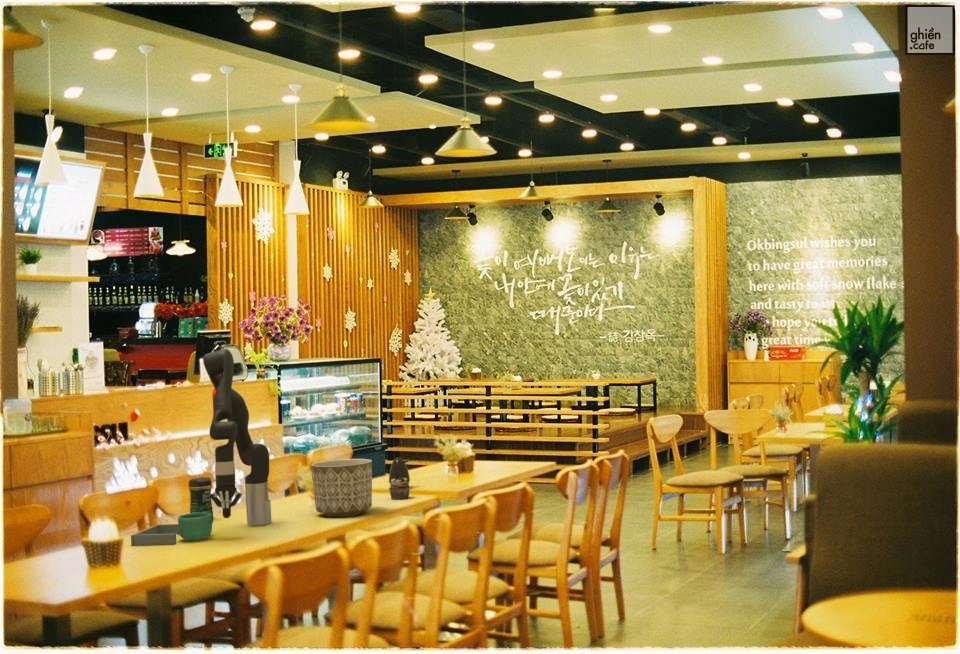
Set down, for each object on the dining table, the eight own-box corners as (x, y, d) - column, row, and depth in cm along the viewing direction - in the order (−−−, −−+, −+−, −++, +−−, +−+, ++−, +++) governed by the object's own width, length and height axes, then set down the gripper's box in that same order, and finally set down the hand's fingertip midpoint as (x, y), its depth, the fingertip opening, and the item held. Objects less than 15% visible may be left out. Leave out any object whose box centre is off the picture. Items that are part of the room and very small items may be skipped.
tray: (198, 533, 460) (198, 523, 460) (175, 544, 437) (174, 534, 437) (156, 534, 463) (156, 524, 463) (131, 545, 439) (130, 535, 439)
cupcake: (414, 497, 528) (413, 475, 528) (402, 500, 520) (400, 478, 520) (397, 496, 533) (396, 475, 533) (385, 500, 525) (384, 478, 525)
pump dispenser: (409, 489, 554) (408, 458, 554) (388, 490, 554) (386, 459, 554) (411, 487, 564) (409, 456, 564) (390, 488, 565) (388, 457, 565)
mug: (196, 543, 437) (194, 518, 437) (172, 541, 444) (170, 517, 444) (226, 535, 452) (225, 511, 452) (202, 534, 458) (201, 510, 458)
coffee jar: (199, 523, 486) (197, 479, 486) (187, 522, 491) (184, 478, 491) (217, 519, 494) (214, 476, 494) (204, 518, 499) (201, 475, 499)
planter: (357, 506, 508) (354, 457, 508) (385, 513, 486) (382, 461, 486) (303, 514, 494) (300, 463, 494) (329, 521, 472) (327, 468, 472)
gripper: (244, 471, 449) (246, 516, 449) (212, 472, 451) (214, 516, 451) (237, 473, 441) (239, 519, 441) (205, 474, 444) (206, 519, 443)
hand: (226, 517), depth 446 cm, fingers closed
